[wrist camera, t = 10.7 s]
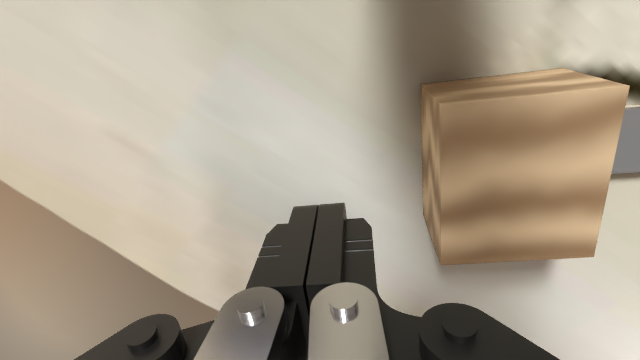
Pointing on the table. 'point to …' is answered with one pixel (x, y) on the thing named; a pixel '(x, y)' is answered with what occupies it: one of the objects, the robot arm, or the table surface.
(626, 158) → the coaster
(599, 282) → the table surface
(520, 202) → the oak block
